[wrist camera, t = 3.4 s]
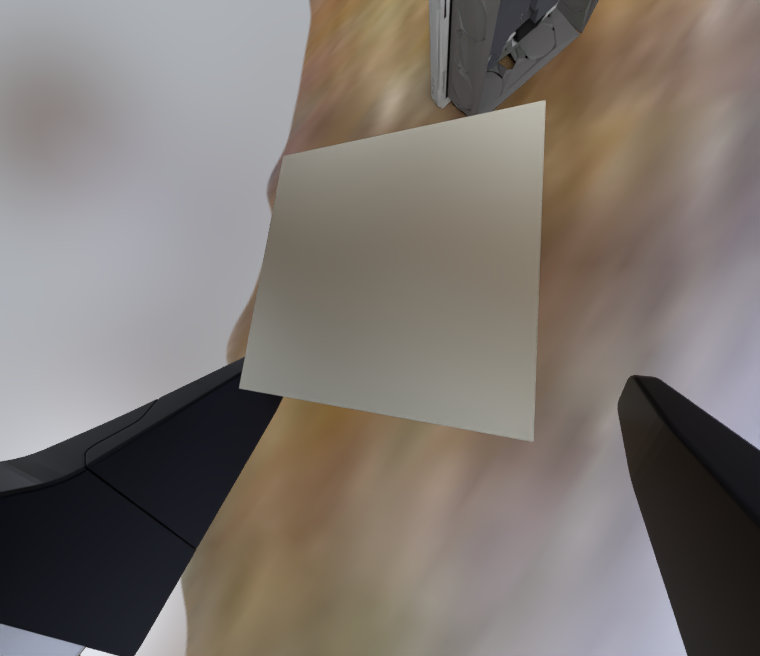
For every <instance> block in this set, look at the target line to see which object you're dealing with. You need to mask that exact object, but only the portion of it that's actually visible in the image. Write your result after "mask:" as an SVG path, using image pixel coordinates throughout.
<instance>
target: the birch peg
mask: <svg viewBox="0 0 760 656" xmlns="http://www.w3.org/2000/svg"><path fill="white" fill-rule="evenodd" d="M545 104H546V100H544V101H539V102H534V103H530V104H525V105H520V106H516V107H511V108H506V109H502V110H497V111H492V112H487V113H483V114H478V115H473V116H469V117H464V118H459V119H455V120H450V121H445V122H440V123H436V124H431V125H426V126H422V127H417V128H412V129H408V130H403V131H398V132H394V133H389V134H384V135H379V136H375V137H370V138H365V139H361V140H356V141H351V142H347V143H342V144H337V145H333V146H328V147H323V148H318V149H314V150H309V151H304V152H300V153H295V154H290V155H286V156H283V160H282V165H281V170H280V176H279V181H278V186H277V191H276V197H275V202H274V207H273V212H272V218H271V223H270V228H269V233H268V239H267V244H266V249H265V254H264V260H263V265H262V270H261V275H260V281H259V286H258V291H257V296H256V302H255V307H254V312H253V317H252V322H251V328H250V333H249V338H248V343H247V349H246V354H245V359H244V364H243V370H242V375H241V380H240V385H239V389H245V390H250V391H256V392H262V393H267V394H273V395H278V396H284V397H289V398H295V399H300V400H306V401H311V402H317V403H322V404H328V405H333V406H339V407H344V408H350V409H355V410H361V411H366V412H372V413H377V414H383V415H389V416H394V417H400V418H405V419H411V420H416V421H422V422H427V423H433V424H438V425H444V426H449V427H455V428H460V429H466V430H471V431H477V432H482V433H488V434H493V435H499V436H504V437H510V438H515V439H521V440H527V441H532V442H534V414H535V386H536V358H537V329H538V301H539V273H540V245H541V217H542V188H543V160H544V132H545Z"/></svg>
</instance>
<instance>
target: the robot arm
mask: <svg viewBox="0 0 760 656" xmlns="http://www.w3.org/2000/svg"><path fill="white" fill-rule="evenodd" d="M244 359H245V357H243V358H241V359H239V360H237V361H235V362H233V363H231V364H229V365H227V366H225V367H223V368H221V369H218V370H216V371H214V372H212V373H210V374H208V375H206V376H204V377H202V378H200V379H198V380H196V381H194V382H191V383H190V384H187V385H185V386H183V387H181V388H179V389H177V390H175V391H173V392H171V393H169V394H167V395H164V396H162V397H161V398H159V399H156V400H154V401H152V402H150V403H148V404H146V405H144V406H141V407H139V408H137V409H135V410H133V411H131V412H129V413H127V414H124V415H122V416H120V417H118V418H115V419H113V420H111V421H109V422H106V423H104V424H102V425H100V426H97V427H95V428H93V429H91V430H88V431H86V432H84V433H81V434H79V435H77V436H74V437H72V438H70V439H67V440H65V441H63V442H61V443H58V444H56V445H54V446H51V447H49V448H47V449H44V450H42V451H39V452H37V453H34V454H31V455H28V456H25V457H21V458H17V459H13V460H7V461H1V462H0V656H80V654H81V653H82V651H83V650H84V649H85V648H86V647H88V648H92V649H96V650H99V651H103V652H106V653H110V654H114V655H118V656H134V655H135V654H136V652H137V651H138V649H139V648H140V646H141V644H142V643H143V641H144V639H145V638H146V636H147V634H148V633H149V631H150V629H151V627H152V626H153V624H154V622H155V620H156V619H157V617H158V615H159V613H160V612H161V610H162V608H163V607H164V605H165V603H166V601H167V599H168V598H169V596H170V594H171V593H172V591H173V589H174V587H175V586H176V584H177V582H178V581H179V579H180V577H181V575H182V574H183V572H184V570H185V568H186V567H187V565H188V563H189V562H190V560H191V558H192V556H193V555H194V553H195V551H196V548H197V547H198V545H199V544H200V542H201V540H202V539H203V537H204V535H205V533H206V532H207V530H208V528H209V526H210V525H211V523H212V521H213V520H214V518H215V516H216V514H217V513H218V511H219V509H220V507H221V506H222V504H223V502H224V501H225V499H226V497H227V495H228V494H229V492H230V490H231V488H232V487H233V485H234V483H235V482H236V480H237V478H238V476H239V475H240V473H241V471H242V469H243V468H244V466H245V464H246V462H247V461H248V459H249V457H250V456H251V454H252V452H253V450H254V449H255V447H256V445H257V443H258V442H259V440H260V438H261V437H262V435H263V433H264V431H265V430H266V428H267V426H268V424H269V423H270V421H271V419H272V418H273V416H274V414H275V412H276V410H277V409H278V407H279V405H280V403H281V400H282V398H283V396H278V395H273V394H267V393H262V392H256V391H250V390H245V389H239V385H240V380H241V375H242V370H243V364H244ZM618 415H619V420H620V425H621V431H622V436H623V442H624V447H625V452H626V458H627V463H628V468H629V473H630V478H631V481H632V485H633V488H634V492H635V495H636V498H637V501H638V504H639V507H640V510H641V513H642V516H643V520H644V523H645V526H646V529H647V532H648V535H649V538H650V541H651V544H652V547H653V550H654V554H655V557H656V560H657V563H658V566H659V569H660V572H661V575H662V578H663V581H664V584H665V588H666V591H667V594H668V597H669V600H670V603H671V606H672V609H673V612H674V615H675V619H676V622H677V625H678V628H679V631H680V634H681V637H682V640H683V643H684V646H685V649H686V653H687V656H760V450H759V449H757V448H756V447H755V446H753V445H752V444H750V443H749V442H748V441H746V440H745V439H743V438H742V437H741V436H739V435H738V434H736V433H735V432H733V431H732V430H731V429H729V428H728V427H726V426H725V425H724V424H722V423H721V422H719V421H718V420H717V419H715V418H714V417H712V416H711V415H710V414H708V413H707V412H705V411H704V410H703V409H701V408H700V407H698V406H697V405H695V404H694V403H693V402H691V401H690V400H688V399H687V398H686V397H684V396H683V395H681V394H680V393H679V392H677V391H676V390H674V389H673V388H672V387H670V386H669V385H667V384H666V383H664V382H663V381H662V380H660V379H658V378H656V377H651V376H640V375H633V376H630V377H629V378H628V380H627V382H626V384H625V387H624V389H623V391H622V394H621V396H620V398H619V401H618Z"/></svg>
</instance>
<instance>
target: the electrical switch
mask: <svg viewBox="0 0 760 656" xmlns="http://www.w3.org/2000/svg"><path fill="white" fill-rule="evenodd" d="M597 2H598V0H429V21H430V58H431V97H432V99H433V100H434V101H435V103H436V104H437V105H438V107H440V108H442V109H443V108H444V107H445V106H446V105H447V104H448V103H449V102H450V101H452V102H453V103H454V104H455V106H456V107H457V108H458V109H459V110H461V111H462V112H464V113H465V114H466V115H467V117H469V116H473V115H478V114H483V113H487V112H492V111H493V110H494V109H495V108H496V107H497V106H498V105H500V104H501V103H502V102H503V101H504V100H505V99H507V98H508V97H509V96H510V95H511V94H512V93H513V92H515V91H516V90H517V89H518V88H519V87H520V86H522V85H523V84H524V83H525V82H526V81H527V80H528V79H530V78H531V77H532V76H533V75H534V74H535V73H536V72H538V71H539V70H540V69H541V68H542V67H543V66H545V65H546V64H547V63H548V62H549V61H550V60H551V59H553V58H554V57H555V56H556V55H557V54H558V53H560V52H561V51H562V50H563V49H564V48H565V47H566V46H568V45H569V44H570V43H571V42H572V41H573V40H574V39H576V38H577V37H578V36H579V35H580V34H579V33H578V32H577V31H576V30H575V28H576V29H577V30H579V31H580V32H581V33H582V32H583V30H584V28H585V26H586V24H587V22H588V20H589V18H590V16H591V14H592V12H593V10H594V8H595V6H596V4H597ZM585 9H586V10H585ZM582 10H584V11H582ZM548 14H550V17H547V15H548ZM569 22H570V23H571V24H572V25H573V26H574V27H575V28H574V27H573V26H572V25H571V24H570V23H569ZM552 28H554V30H555V31H554V30H553V29H552ZM520 42H521V43H520ZM519 44H520V48H519ZM552 49H553V50H552ZM509 53H511V55H512V56H513V58H514V60H515V62H516V64H515V66H514V67H513V68H512V69H508V70H506V68H505V67H504V66H502V65H501V64H500V63H499V64H498V63H497V62H498V61H500V60H501V59H502V58H504V57H505V56H506V55H508V54H509ZM525 54H526V56H527V57H528V58H529V59H527V58H525ZM539 58H540V59H539ZM536 59H538V60H536ZM486 71H491V72H486ZM492 71H494V72H496V73H499V74H500V75H501V76H502V78H503V81H502V78H501V77H499V76H498V75H497V74H495V73H494V72H492ZM500 95H501V96H500ZM499 96H500V97H499Z"/></svg>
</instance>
